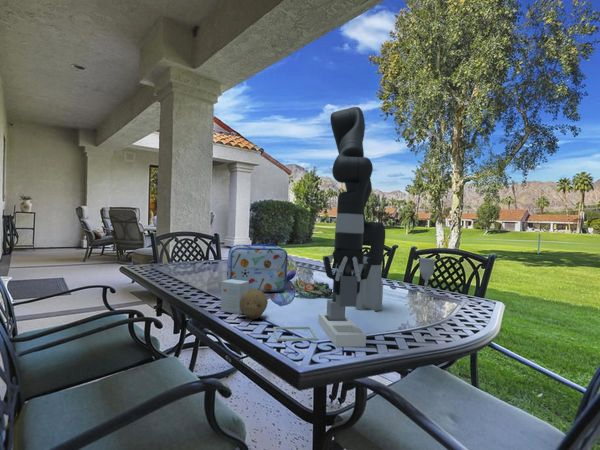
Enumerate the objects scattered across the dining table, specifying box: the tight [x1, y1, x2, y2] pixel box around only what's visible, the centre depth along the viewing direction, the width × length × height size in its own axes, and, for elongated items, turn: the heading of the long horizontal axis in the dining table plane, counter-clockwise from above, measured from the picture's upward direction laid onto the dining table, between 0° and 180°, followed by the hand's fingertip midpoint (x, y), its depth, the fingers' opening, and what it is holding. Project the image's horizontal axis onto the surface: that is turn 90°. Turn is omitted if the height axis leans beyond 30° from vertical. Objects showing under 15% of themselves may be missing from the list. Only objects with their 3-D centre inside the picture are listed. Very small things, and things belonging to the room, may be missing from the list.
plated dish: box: [290, 274, 333, 300], centre depth 159 cm, size 35×28×7 cm
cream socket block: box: [317, 312, 367, 348], centre depth 98 cm, size 20×8×5 cm, turn 10°
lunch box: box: [226, 242, 289, 293], centre depth 155 cm, size 28×10×22 cm, turn 107°
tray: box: [273, 326, 319, 342], centre depth 96 cm, size 11×10×2 cm
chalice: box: [418, 257, 437, 298], centre depth 153 cm, size 7×7×18 cm
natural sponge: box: [240, 289, 269, 320], centre depth 111 cm, size 9×9×10 cm
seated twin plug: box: [326, 292, 346, 321], centre depth 103 cm, size 4×4×11 cm
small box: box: [220, 279, 249, 315], centre depth 120 cm, size 8×6×10 cm
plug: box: [336, 264, 358, 308], centre depth 93 cm, size 4×4×11 cm
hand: (345, 294), depth 93 cm, fingers closed on plug, 4 cm apart
